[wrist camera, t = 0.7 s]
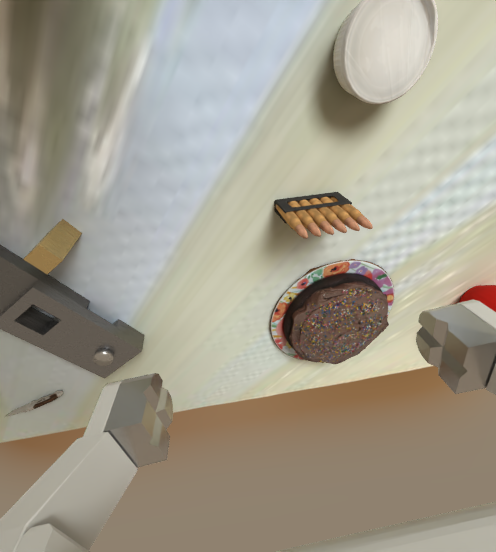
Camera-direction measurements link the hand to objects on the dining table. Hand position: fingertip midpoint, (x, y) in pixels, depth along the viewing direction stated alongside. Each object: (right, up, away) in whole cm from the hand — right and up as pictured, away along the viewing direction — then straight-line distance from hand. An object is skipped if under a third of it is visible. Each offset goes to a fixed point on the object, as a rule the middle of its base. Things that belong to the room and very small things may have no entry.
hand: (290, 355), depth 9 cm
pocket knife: (-46, -24, +51) cm, 73 cm away
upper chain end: (-31, -6, +41) cm, 52 cm away
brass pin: (-28, +9, +32) cm, 44 cm away
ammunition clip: (+8, +15, +37) cm, 41 cm away
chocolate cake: (+17, -5, +53) cm, 56 cm away
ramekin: (+14, +31, +27) cm, 44 cm away
